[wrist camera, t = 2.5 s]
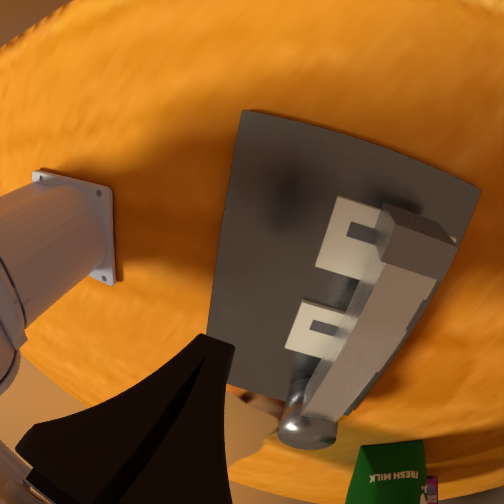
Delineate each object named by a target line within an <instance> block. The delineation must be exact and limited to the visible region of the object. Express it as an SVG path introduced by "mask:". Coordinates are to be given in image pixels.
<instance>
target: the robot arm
mask: <svg viewBox="0 0 504 504" xmlns="http://www.w3.org/2000/svg"><path fill="white" fill-rule="evenodd" d="M32 180H33V183H31V184H28V185H26V186H23V187H21V188H19V189H16V190H14V191H12V192H10V193H8V194H5V195H3V196H1V197H0V395H1V394H3V393H4V392H5V391H6V390H7V389H8V387H9V386H10V385H11V383H12V382H13V381H14V379H15V377H16V375H17V373H18V370H19V366H20V359H21V356H20V350H19V348H20V347H21V346H22V345H23V344H24V343H25V342H26V341H27V337H26V334H25V331H24V329H26V328H27V327H28V326H29V325H30V324H31V323H32V322H33V321H35V320H36V319H37V318H38V317H39V316H40V315H41V314H42V313H44V312H45V311H46V310H47V309H48V308H49V307H50V306H52V305H53V304H54V303H55V302H56V301H57V300H59V299H60V298H61V297H62V296H63V295H64V294H66V293H67V292H68V291H69V290H70V289H72V288H73V287H74V286H75V285H76V284H78V283H79V282H80V281H81V280H83V279H84V278H85V277H86V276H90V277H92V278H95V279H97V280H99V281H101V282H103V283H106V284H108V285H110V286H113V285H114V284H115V283H116V272H115V258H114V239H113V193H112V190H111V189H110V188H109V187H108V186H104V185H100V184H96V183H91V182H87V181H83V180H79V179H75V178H71V177H66V176H62V175H58V174H53V173H49V172H45V171H40V170H35V171H34V172H33V174H32ZM100 191H101V194H102V195H101V194H100ZM234 353H235V346H234V345H233V344H230V343H227V342H224V341H221V340H218V339H216V338H213V337H210V336H207V335H204V334H202V333H201V334H198V335H197V336H196V337H195V338H194V339H193V340H192V341H191V342H190V343H189V344H188V345H187V346H186V347H185V348H184V349H183V350H181V351H180V352H179V353H178V354H177V355H176V356H174V357H173V358H172V359H171V360H169V361H168V362H167V363H166V364H164V365H163V366H162V367H161V368H159V369H158V370H157V371H155V372H154V373H152V374H151V375H149V376H148V377H146V378H145V379H143V380H142V381H141V382H139V383H138V384H136V385H134V386H133V387H131V388H129V389H128V390H126V391H124V392H122V393H120V394H119V395H117V396H115V397H113V398H111V399H109V400H107V401H105V402H103V403H100V404H98V405H96V406H94V407H91V408H89V409H86V410H83V411H80V412H78V413H75V414H72V415H69V416H66V417H63V418H59V419H55V420H51V421H46V422H42V423H38V424H35V425H33V427H32V428H31V429H29V430H28V431H27V432H26V434H25V435H24V436H23V438H22V439H21V440H20V441H19V443H18V444H17V445H16V447H15V450H16V452H17V453H18V454H19V455H20V456H21V457H23V459H24V460H26V461H27V462H28V463H29V464H30V465H31V466H32V467H33V469H31V468H30V467H28V466H27V465H26V464H25V463H24V462H23V461H22V460H21V459H20V458H18V457H17V456H16V455H15V454H14V453H13V452H12V451H11V450H10V449H9V448H8V447H7V446H6V445H5V444H4V443H3V442H2V441H1V440H0V504H51V503H52V504H232V498H231V493H230V487H229V480H228V473H227V466H226V455H225V441H224V404H225V392H226V383H227V380H228V377H229V374H230V369H231V365H232V361H233V357H234ZM30 486H31V487H32V488H33V489H34V490H35V491H37V492H38V493H39V494H40V495H42V496H43V497H44V498H45V499H47V500H48V501H49V502H50V503H49V502H48V501H46V500H45V499H43V498H42V497H40V496H38V495H37V494H36V493H34V492H33V491H31V490H30Z"/></svg>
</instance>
